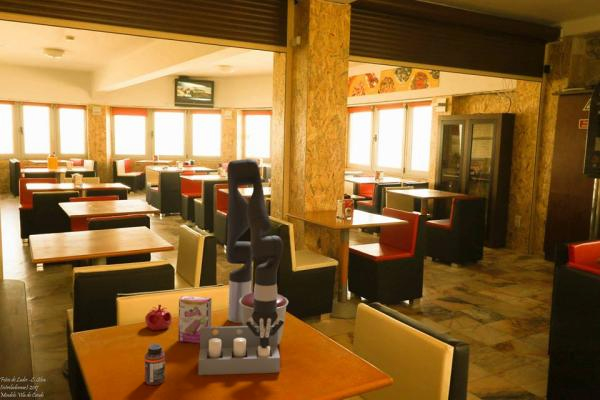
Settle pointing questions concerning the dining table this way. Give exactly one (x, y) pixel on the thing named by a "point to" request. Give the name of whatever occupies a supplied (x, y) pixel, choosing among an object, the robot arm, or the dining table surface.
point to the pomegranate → (158, 319)
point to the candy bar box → (193, 317)
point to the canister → (248, 309)
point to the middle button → (239, 347)
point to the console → (227, 360)
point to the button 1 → (214, 348)
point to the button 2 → (263, 351)
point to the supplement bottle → (154, 365)
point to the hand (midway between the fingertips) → (264, 347)
